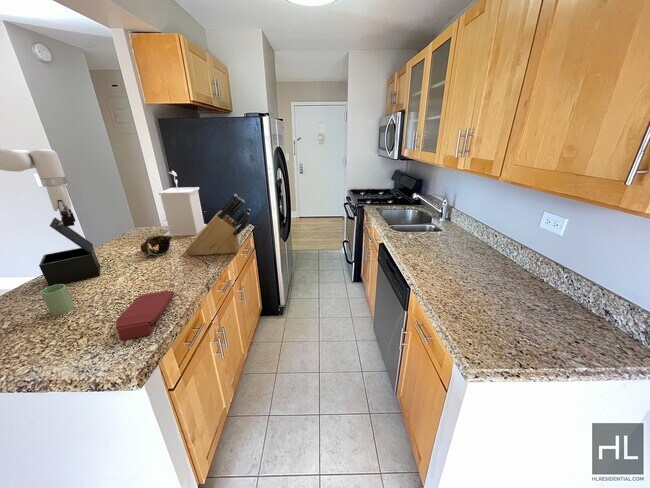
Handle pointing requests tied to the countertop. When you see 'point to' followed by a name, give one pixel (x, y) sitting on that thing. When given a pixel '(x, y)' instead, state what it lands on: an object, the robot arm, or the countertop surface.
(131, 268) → the countertop surface
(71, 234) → the lid
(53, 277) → the box
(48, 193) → the robot arm
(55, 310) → the cup
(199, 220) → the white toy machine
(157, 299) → the carton
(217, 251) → the knife block
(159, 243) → the pot
